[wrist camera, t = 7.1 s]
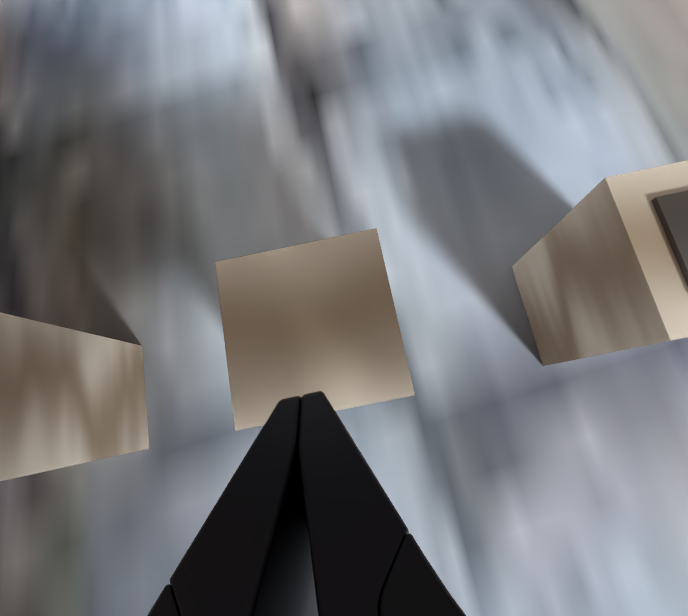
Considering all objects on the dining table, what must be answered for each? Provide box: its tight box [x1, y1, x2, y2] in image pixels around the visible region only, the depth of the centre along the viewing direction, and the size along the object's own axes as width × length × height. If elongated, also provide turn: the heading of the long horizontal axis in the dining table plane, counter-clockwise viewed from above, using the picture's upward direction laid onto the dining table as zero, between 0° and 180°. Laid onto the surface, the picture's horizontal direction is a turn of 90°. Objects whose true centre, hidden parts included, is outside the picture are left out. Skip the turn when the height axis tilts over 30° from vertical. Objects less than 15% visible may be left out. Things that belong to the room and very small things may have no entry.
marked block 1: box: [512, 160, 688, 366], centre depth 15 cm, size 5×5×8 cm
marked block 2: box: [0, 313, 149, 481], centre depth 15 cm, size 5×5×8 cm
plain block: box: [215, 229, 415, 431], centre depth 15 cm, size 5×5×8 cm
